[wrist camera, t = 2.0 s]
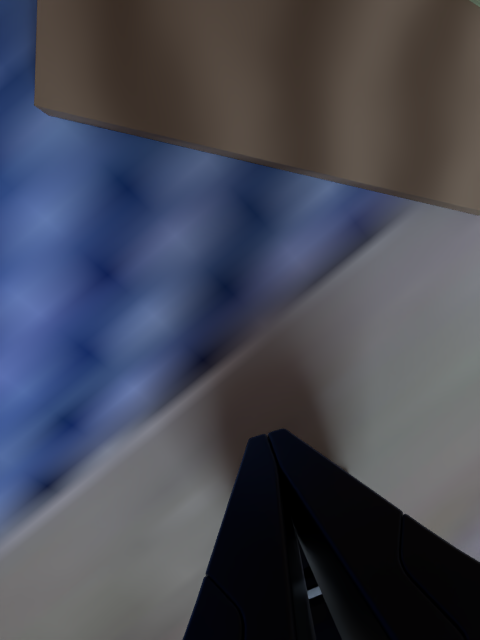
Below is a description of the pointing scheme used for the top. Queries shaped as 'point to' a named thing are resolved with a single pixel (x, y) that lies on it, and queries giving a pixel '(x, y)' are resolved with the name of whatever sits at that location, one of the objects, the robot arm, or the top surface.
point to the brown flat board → (281, 84)
